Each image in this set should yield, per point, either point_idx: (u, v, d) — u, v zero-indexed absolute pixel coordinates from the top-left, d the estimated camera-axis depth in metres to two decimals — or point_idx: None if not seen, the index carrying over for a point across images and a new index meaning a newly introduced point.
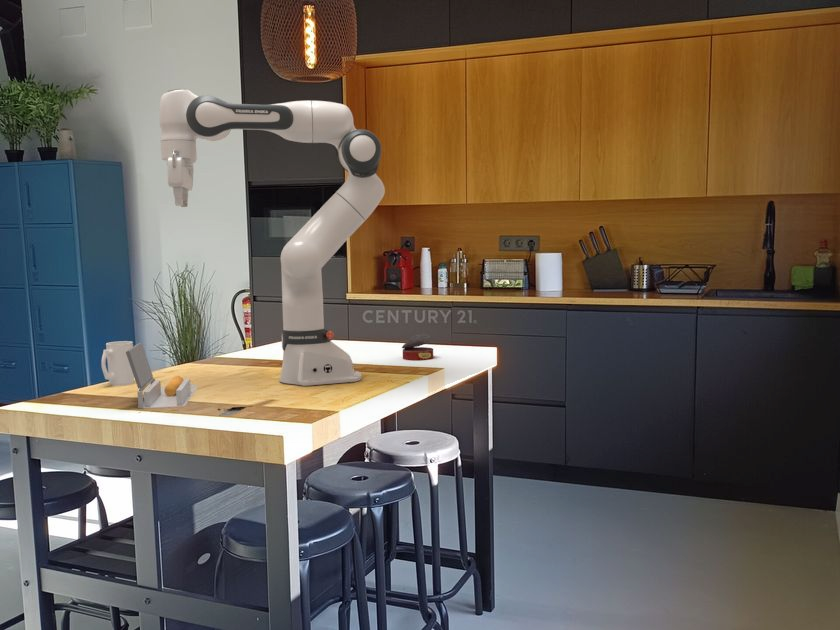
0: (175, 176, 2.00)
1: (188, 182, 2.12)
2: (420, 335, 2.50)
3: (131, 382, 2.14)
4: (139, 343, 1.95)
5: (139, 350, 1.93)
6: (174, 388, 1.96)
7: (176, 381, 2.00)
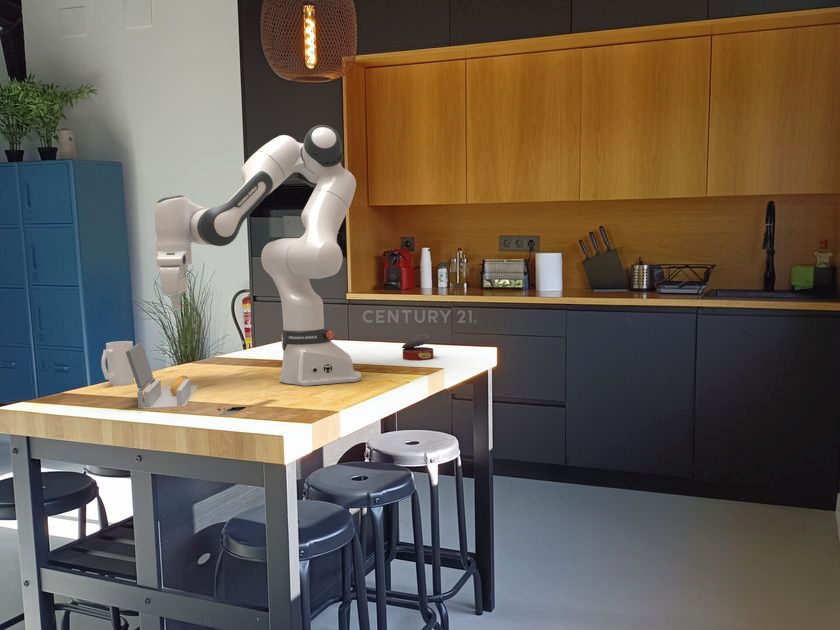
0: None
1: None
2: (420, 335, 2.50)
3: (131, 382, 2.14)
4: (139, 343, 1.95)
5: (139, 350, 1.93)
6: None
7: None
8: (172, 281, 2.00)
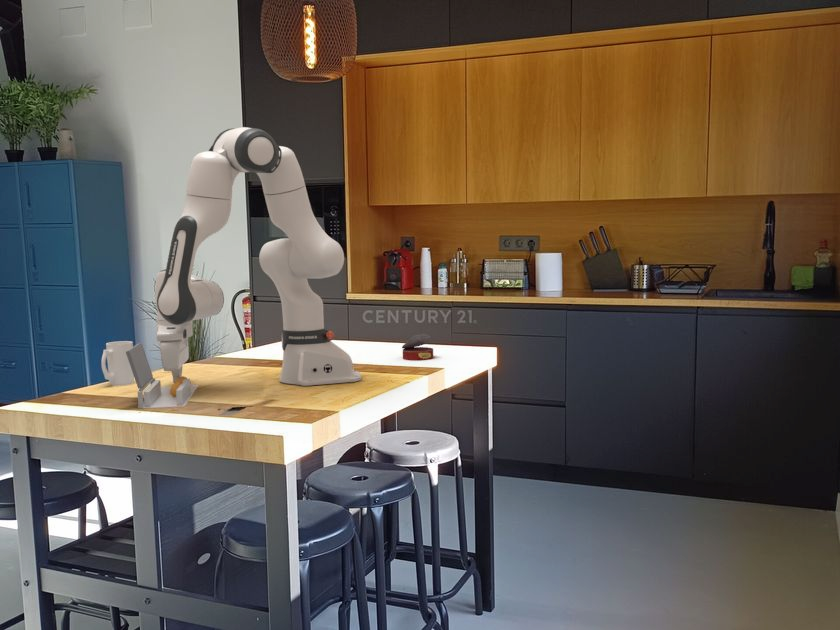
0: None
1: None
2: (420, 335, 2.50)
3: (131, 382, 2.14)
4: (139, 343, 1.95)
5: (139, 350, 1.93)
6: None
7: None
8: (172, 357, 1.97)
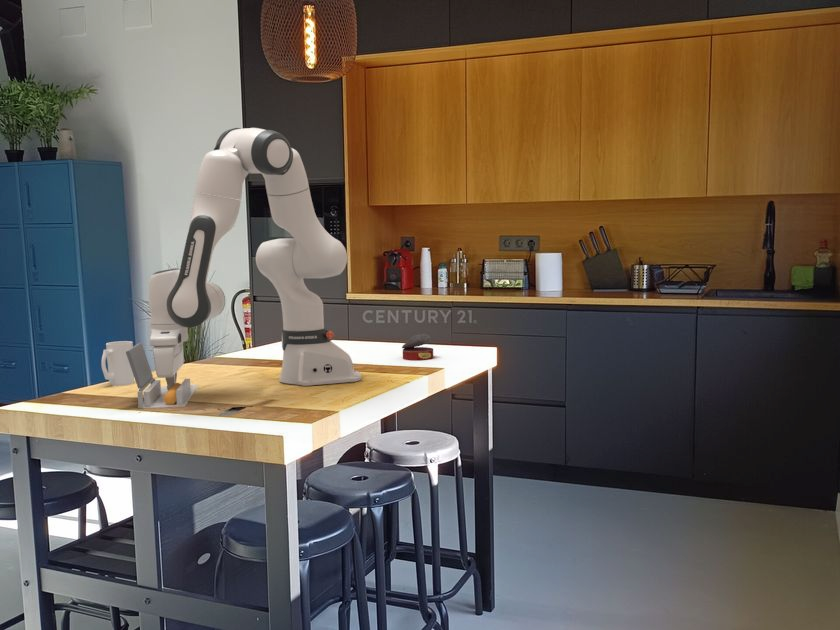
0: None
1: None
2: (420, 335, 2.50)
3: (131, 382, 2.14)
4: (139, 343, 1.95)
5: (139, 350, 1.93)
6: (174, 399, 1.86)
7: None
8: (166, 363, 1.88)
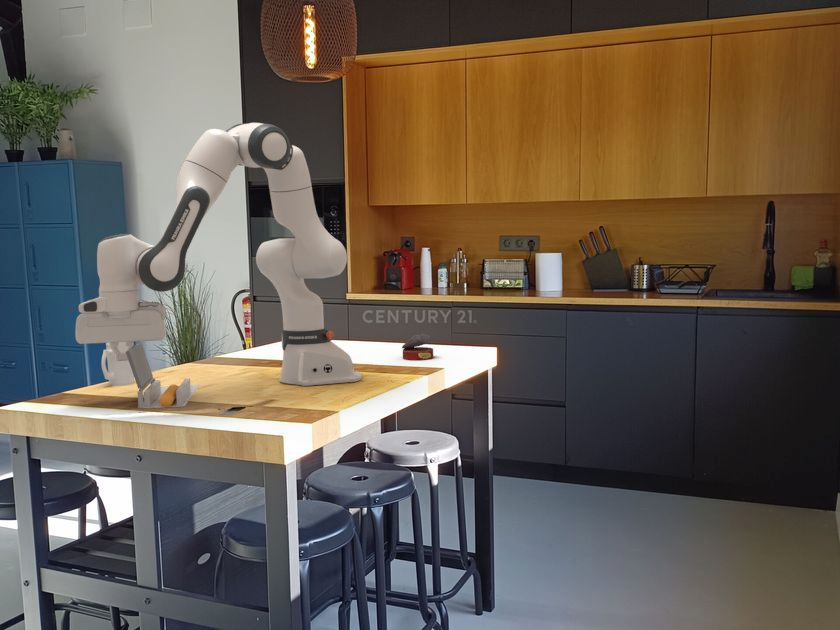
0: (165, 329, 1.91)
1: None
2: (420, 335, 2.50)
3: (131, 382, 2.14)
4: (139, 343, 1.95)
5: (139, 350, 1.93)
6: (170, 399, 1.84)
7: (174, 391, 1.88)
8: None
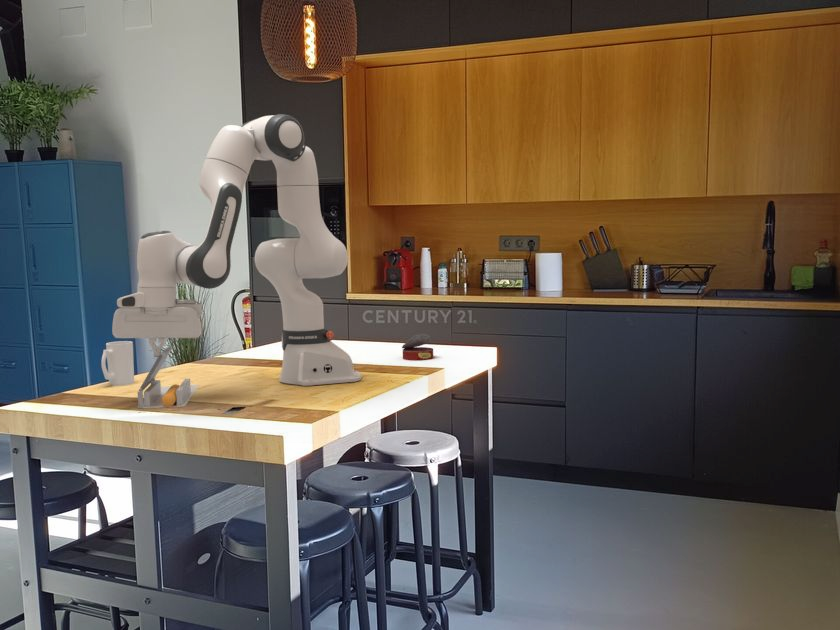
0: (200, 327, 1.92)
1: None
2: (420, 335, 2.50)
3: (131, 382, 2.14)
4: (171, 347, 1.97)
5: (166, 354, 1.94)
6: (172, 400, 1.84)
7: None
8: None
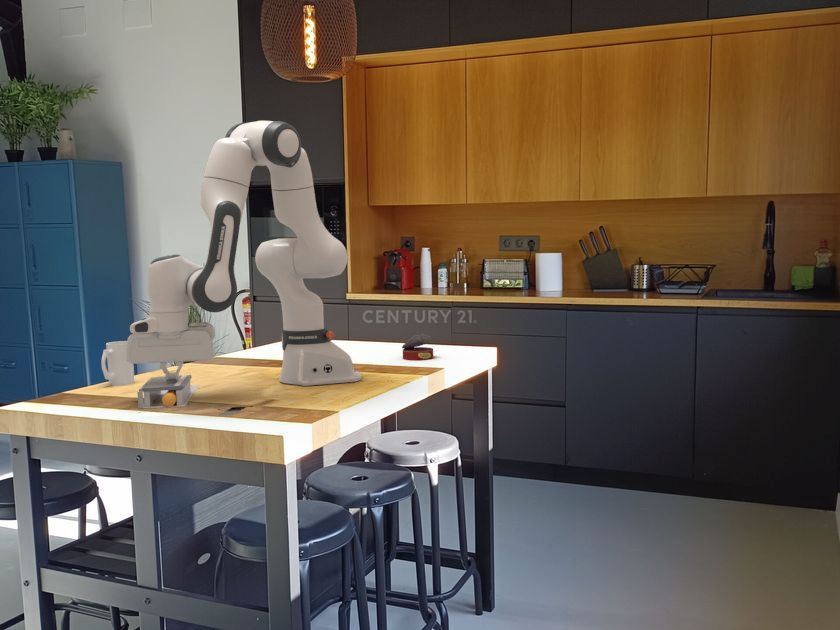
0: (213, 349, 1.93)
1: None
2: (420, 335, 2.50)
3: (131, 382, 2.14)
4: (190, 378, 1.98)
5: None
6: (173, 401, 1.84)
7: None
8: None
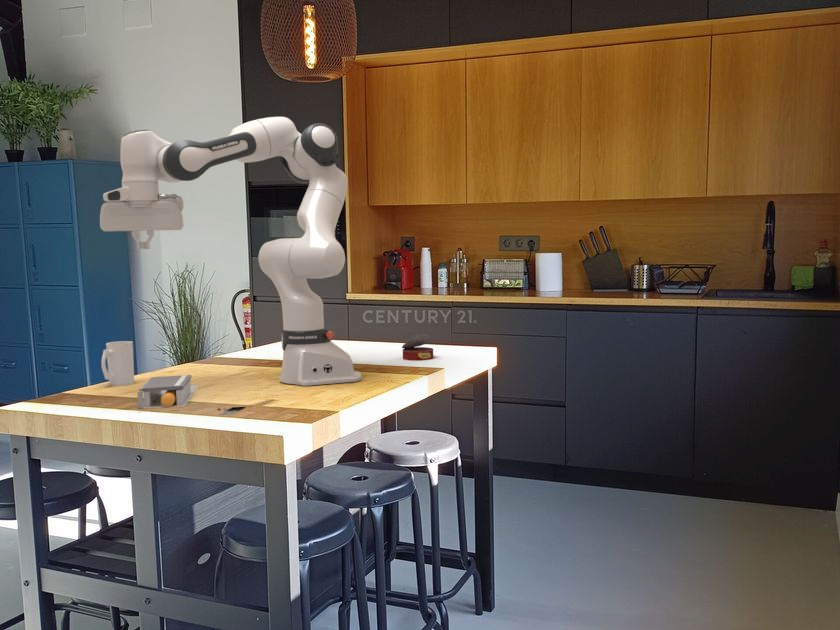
0: (182, 220, 2.06)
1: None
2: (420, 335, 2.50)
3: (131, 382, 2.14)
4: (190, 378, 1.98)
5: None
6: (172, 400, 1.84)
7: None
8: None
